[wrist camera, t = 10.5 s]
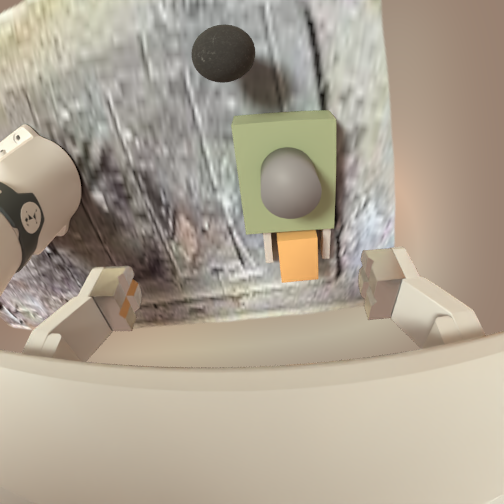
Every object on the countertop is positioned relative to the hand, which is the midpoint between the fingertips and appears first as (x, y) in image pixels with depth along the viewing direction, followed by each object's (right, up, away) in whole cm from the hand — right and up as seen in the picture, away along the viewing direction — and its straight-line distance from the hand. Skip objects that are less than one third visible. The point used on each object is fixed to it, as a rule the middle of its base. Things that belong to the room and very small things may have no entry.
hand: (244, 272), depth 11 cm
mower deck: (+5, +9, +30) cm, 31 cm away
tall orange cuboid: (+6, +3, +35) cm, 36 cm away
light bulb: (-2, +23, +19) cm, 30 cm away
